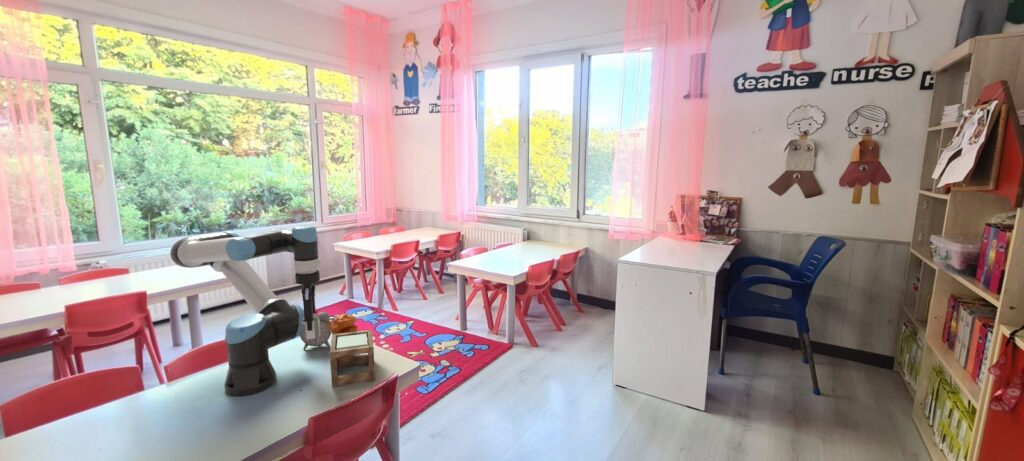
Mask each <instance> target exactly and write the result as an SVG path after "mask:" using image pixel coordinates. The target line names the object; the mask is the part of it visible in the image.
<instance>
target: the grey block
mask: <svg viewBox="0 0 1024 461" xmlns="http://www.w3.org/2000/svg"><path fill="white" fill-rule="evenodd" d="M313 318H314V327H315V338H314V339H316V338H319V337H320V321H319V317H313ZM303 320H304V319H303ZM302 329H303V340H308V339H306V327H305V322H302Z"/></svg>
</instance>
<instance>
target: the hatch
mask: <svg viewBox="0 0 1024 461" xmlns="http://www.w3.org/2000/svg"><path fill="white" fill-rule="evenodd" d="M362 346H368V344H367V334H358V335H349V336H341V337H337V350H340V349H347V348H355V347H362Z"/></svg>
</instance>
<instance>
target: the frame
mask: <svg viewBox="0 0 1024 461" xmlns="http://www.w3.org/2000/svg"><path fill="white" fill-rule="evenodd" d="M358 334H367V346H362V347H355V348H347V349H340V350H337V337H341V336H349V335H358ZM330 339H331V341H330V347H329V364H330V375H331V376H330V377H331V380H330V381H331V387H332V388H335V387H338V386H345V385H351V384H357V383H363V382H373V381H376V372H375V371H376V370H375V351H374V350H375V347H374V338H373V330H372V329H367V330H357V331H356V332H348V333H339V334H332V333H331V337H330ZM350 355H354V356H351V357H344V358H339V357H343V356H350ZM360 364H362V365H363V364H368V371H363V372H356V373H349V374H343V375H338V373H339V372H338V370H339V368H341V367H348V366H355V365H360Z"/></svg>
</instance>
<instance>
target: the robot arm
mask: <svg viewBox="0 0 1024 461" xmlns="http://www.w3.org/2000/svg"><path fill="white" fill-rule="evenodd" d="M317 233H318V232H317V228H316V227H315V226H314V225H310V224H309V225H303V224H302V225H296V226H293V227H292V229H284V228H273V229H271V230H269V231H268V232H267V231H266V232H262V233H257V234H255V233H254V234H249V235H239V234H238V233H236V232H234V231H230V230H229V231H222V230H221V231H217V232H214V233H213V232H212V233H206V234H197V235H192V236H187V237H183V238H181V239H179V240H177V241H176V242H175V243H174V244H173V245H172V246H171V248H170V252H169V253H170V258H171V261H173V263H174V264H176V265H177V266H179V267H182V268H189V269H191V268H192V269H193V268H199V267H206V266H210V267H211V268H212V269H213V270H214V271H216V272H217V273H218V272H219V273H222V274H223V276H225V277H226V279H227V280H228V281H229V282H230V284H231V285H232V286H233V287H234V288H235V290H236V291H237V292H238V293H239V294H240V295H241V297H242V298H243V299H244V300H245V301H246V303H247V304H248V305H249V306H250V307H251V309H252V310H253V311H254V312H255V313H249V314H245V315H240V316H239V317H236V318H235V319H233V320H231V321H230V322H228V323H227V326H226V327H225V329H224V330H225V335H224V339H225V343H226V344H225V346H226V351H227V360H228V361H227V362H228V370H227V372H226V378H225V381H224V392H225V393H226V394H227V395H230V396H233V397H241V396H242V397H243V396H249V395H255V394H257V393H260V392H262V391H265V390H267V389H269V388H271V387H272V386H273V385H274V384H275V383H276V382H277V372H276V370H275V367H274V366H273V364H272V362H271V360H270V357H269V349H272V348H274V347H276V346H278V345H281V344H284V343H285V342H288V341H290V340H294V339H295V338H297V337H298V336H299V337H300V335H301V334H302V333H303V329H302V322H305V327H306V339H314V338H315V327H314V318H313V317H316V314H318V310H316V309H317V307H316V299H315V298H316V286H315V284H317V283H319V282H320V279H321V274H320V271H319V269H320V267H319V266H320V265H319V264H321V260H319V245H318V244H319V243H318V242H319V241H318V240H319V237H318V234H317ZM285 252H287V253H291V254H293V266H294V272H295V273H294V275H295V276H294V277H295V278H294V279H295V284H297V285H302V287H301V294H302V296H301V297H302V304H303V307H302V306H300V305H299V304H290V303H289V302H288V301H287V300H286V299H285V298H278V296H277V295H276V294H275V293H274V292H273V290H272V289H271V288H270V287H269V285H267V284H266V282H265V281H264V280H263V279H262V278H261V276H260V275H259V274H258V273H257V272H256V270H254V268H253V267H252V266H251V264H249V262H248V261H249V260H252V259H257V258H260V257H265V256H266V257H267V256H270V255H275V254H279V253H285ZM303 319H304V320H303Z"/></svg>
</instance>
